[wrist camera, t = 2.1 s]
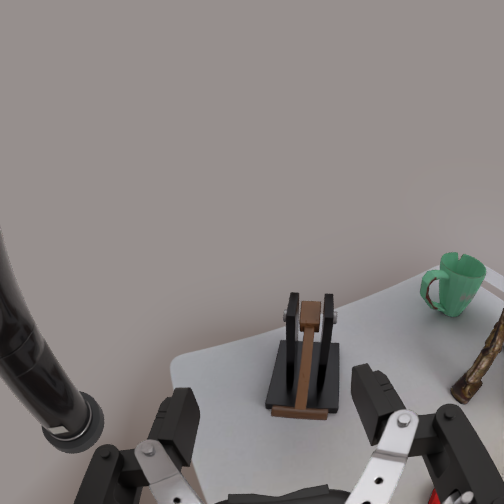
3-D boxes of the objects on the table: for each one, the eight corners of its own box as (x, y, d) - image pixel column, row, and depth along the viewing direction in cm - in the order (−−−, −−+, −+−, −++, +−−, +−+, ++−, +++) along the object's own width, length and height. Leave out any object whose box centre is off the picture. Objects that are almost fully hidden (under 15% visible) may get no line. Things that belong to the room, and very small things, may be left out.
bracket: (336, 413, 28) (355, 343, 23) (265, 408, 30) (259, 338, 25) (338, 348, 39) (347, 277, 33) (280, 345, 41) (278, 275, 35)
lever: (325, 421, 23) (327, 419, 21) (272, 417, 24) (269, 414, 22) (333, 311, 31) (335, 301, 29) (288, 309, 32) (286, 299, 30)
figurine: (457, 413, 23) (511, 327, 16) (441, 397, 26) (487, 310, 20) (482, 384, 25) (527, 301, 18) (467, 371, 28) (506, 288, 22)
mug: (453, 292, 46) (464, 250, 42) (479, 318, 37) (495, 273, 33) (401, 304, 46) (411, 257, 42) (426, 336, 37) (442, 286, 33)
